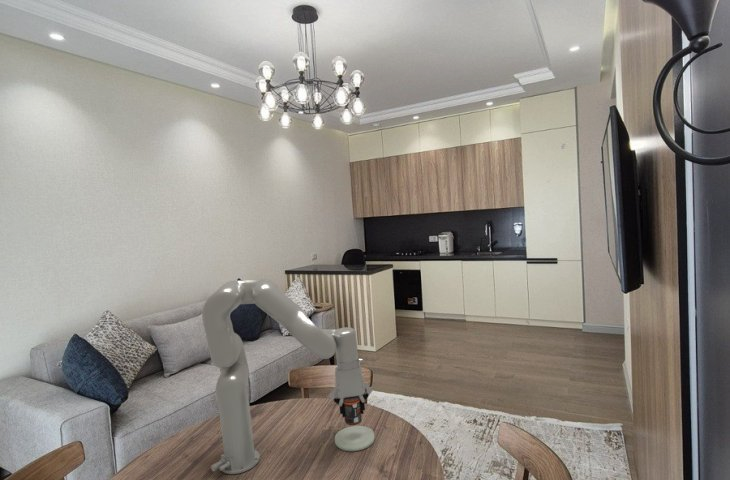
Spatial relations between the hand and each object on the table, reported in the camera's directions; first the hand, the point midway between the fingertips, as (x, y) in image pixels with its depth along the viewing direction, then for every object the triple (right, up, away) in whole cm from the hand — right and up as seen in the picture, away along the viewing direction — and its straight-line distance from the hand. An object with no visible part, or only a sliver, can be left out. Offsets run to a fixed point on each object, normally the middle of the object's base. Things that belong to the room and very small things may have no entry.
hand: (352, 413), depth 140 cm
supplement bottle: (0, -3, 0) cm, 3 cm away
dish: (+1, -10, +1) cm, 10 cm away
